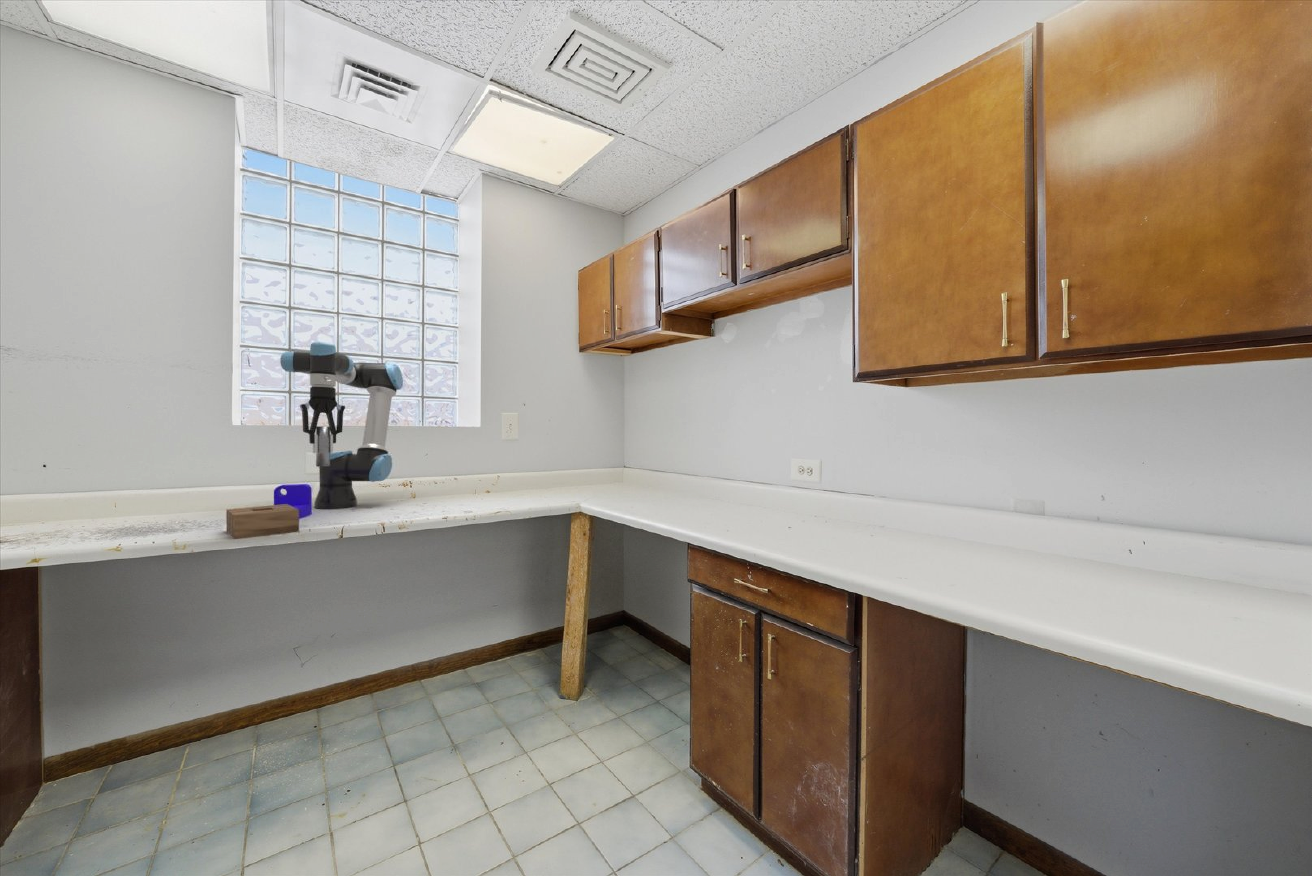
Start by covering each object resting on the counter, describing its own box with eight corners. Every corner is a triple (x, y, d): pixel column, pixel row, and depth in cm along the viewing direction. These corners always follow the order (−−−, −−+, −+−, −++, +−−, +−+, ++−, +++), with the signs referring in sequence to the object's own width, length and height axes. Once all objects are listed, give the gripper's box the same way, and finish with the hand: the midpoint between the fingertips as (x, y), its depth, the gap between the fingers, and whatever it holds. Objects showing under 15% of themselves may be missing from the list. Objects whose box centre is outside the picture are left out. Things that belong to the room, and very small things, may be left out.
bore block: (226, 530, 159) (226, 509, 159) (287, 524, 171) (287, 504, 171) (234, 538, 148) (234, 515, 148) (298, 531, 160) (298, 509, 160)
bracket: (277, 515, 187) (277, 484, 186) (311, 514, 191) (311, 483, 191) (263, 524, 170) (263, 490, 170) (301, 522, 175) (301, 489, 175)
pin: (314, 466, 174) (314, 426, 174) (327, 465, 177) (327, 426, 177) (318, 466, 172) (318, 426, 171) (331, 466, 175) (331, 426, 174)
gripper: (296, 384, 165) (296, 454, 166) (353, 388, 178) (353, 452, 178) (291, 385, 170) (291, 453, 171) (346, 388, 183) (346, 451, 183)
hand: (322, 452), depth 174 cm, fingers closed on pin, 4 cm apart
